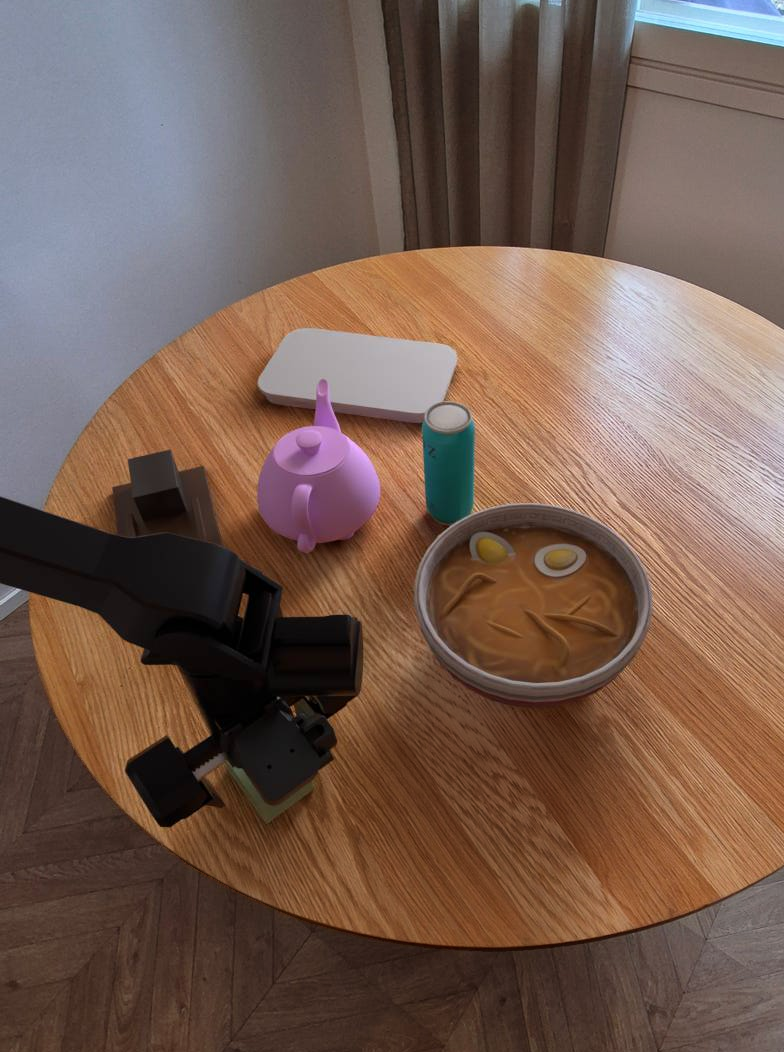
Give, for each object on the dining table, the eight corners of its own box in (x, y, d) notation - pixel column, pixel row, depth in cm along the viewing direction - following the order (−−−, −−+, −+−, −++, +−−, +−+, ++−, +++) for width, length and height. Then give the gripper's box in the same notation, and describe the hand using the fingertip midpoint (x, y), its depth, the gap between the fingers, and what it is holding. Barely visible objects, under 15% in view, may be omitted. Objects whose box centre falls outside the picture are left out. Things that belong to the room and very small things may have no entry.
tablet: (294, 338, 120) (291, 325, 118) (461, 359, 117) (461, 346, 115) (253, 404, 109) (250, 391, 107) (437, 429, 106) (436, 416, 104)
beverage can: (461, 490, 98) (461, 393, 87) (481, 520, 95) (483, 424, 84) (418, 504, 96) (412, 407, 85) (438, 536, 93) (434, 439, 82)
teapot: (283, 451, 103) (265, 375, 94) (391, 455, 102) (384, 378, 93) (247, 570, 89) (223, 494, 80) (372, 574, 89) (362, 498, 80)
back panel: (126, 592, 87) (110, 563, 83) (114, 492, 97) (100, 462, 93) (227, 565, 90) (216, 535, 86) (205, 471, 100) (195, 441, 96)
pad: (266, 824, 70) (257, 805, 67) (226, 768, 73) (216, 748, 70) (314, 789, 72) (307, 769, 69) (273, 736, 75) (265, 715, 72)
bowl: (498, 533, 93) (501, 471, 86) (674, 625, 85) (694, 565, 77) (372, 666, 81) (363, 607, 73) (564, 791, 72) (575, 738, 65)
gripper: (162, 840, 52) (218, 914, 63) (391, 678, 60) (403, 770, 72) (91, 724, 57) (154, 812, 69) (309, 591, 66) (333, 689, 77)
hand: (266, 771), depth 71 cm, fingers open, 9 cm apart
